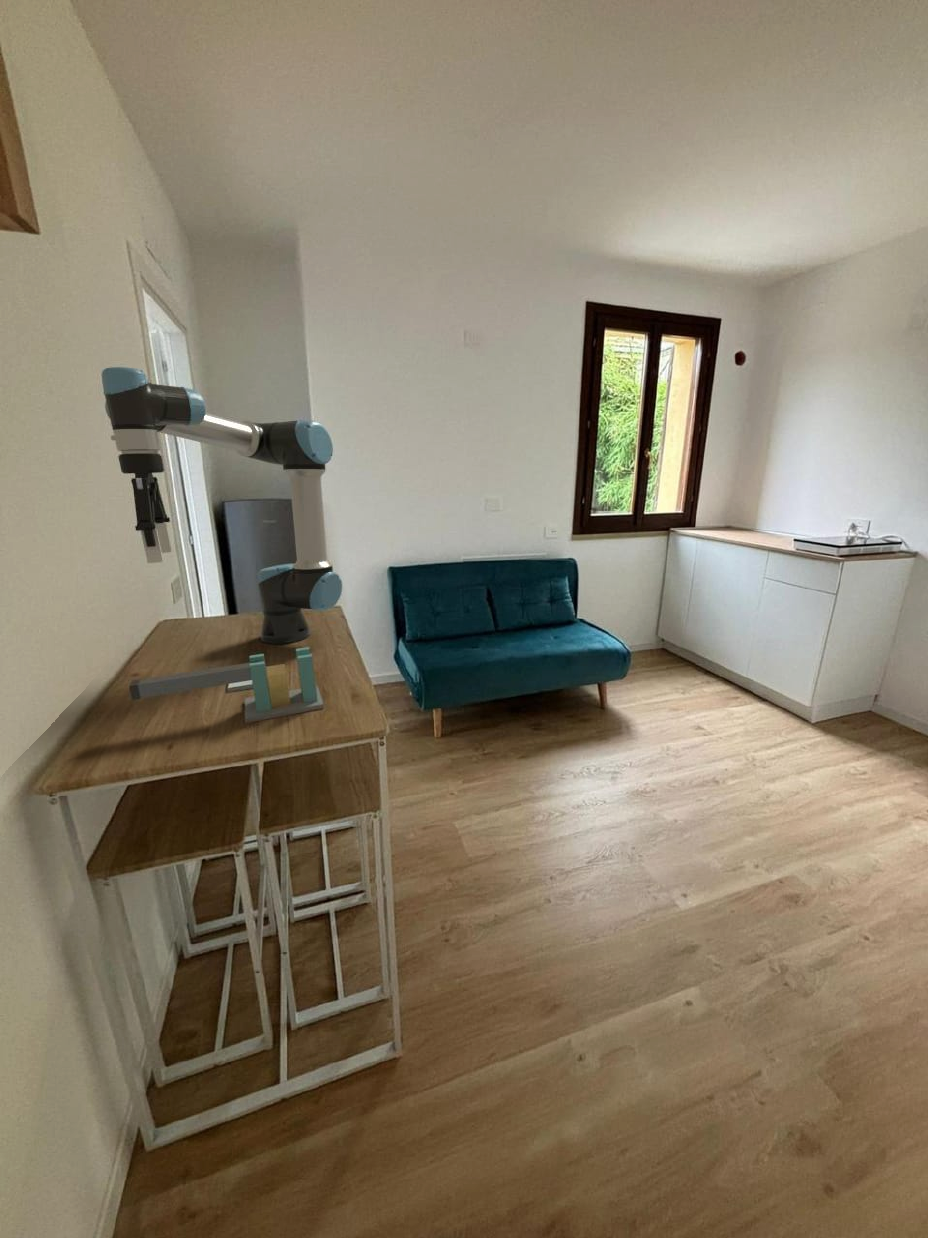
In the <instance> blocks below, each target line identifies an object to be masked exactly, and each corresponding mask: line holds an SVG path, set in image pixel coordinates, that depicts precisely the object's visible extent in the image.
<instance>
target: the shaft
mask: <svg viewBox="0 0 928 1238" xmlns="http://www.w3.org/2000/svg"><path fill="white" fill-rule="evenodd" d="M258 662H263V661H258ZM251 663H256V662H251ZM249 680H252V677H251V671H250V662H247V663H240V664H233V665H227V666H226V665H225V666H219V667H213V668H206V669H201V670H200V669H199V670H194V671H187V672H182V673H175V674H174V673H173V674H167V675H160V676H154V677H147V678H142V679H141V678H140V679H139V678H138V679H133V680H131V682H130V683H129V685H128V687H129V689H128V690H129V692H130V696H131V701H133V700H134V701H135V700H141V699H145V698H150V697H157V696H162V695H163V696H164V695H169V694H177V693H182V692H186V691H194V690H200V689H207V688H213V687H218V686H225V685H228V684H231V683H237V682H243V681H249Z"/></svg>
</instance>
